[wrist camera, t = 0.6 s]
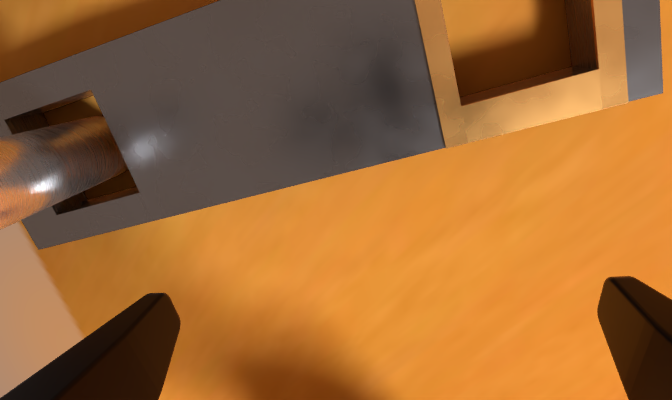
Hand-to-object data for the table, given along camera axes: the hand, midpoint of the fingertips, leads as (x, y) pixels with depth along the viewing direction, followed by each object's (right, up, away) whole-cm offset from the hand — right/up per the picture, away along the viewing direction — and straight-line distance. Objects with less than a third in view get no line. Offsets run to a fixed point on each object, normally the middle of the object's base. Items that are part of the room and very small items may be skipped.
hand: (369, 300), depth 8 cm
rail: (-4, +8, +13) cm, 16 cm away
